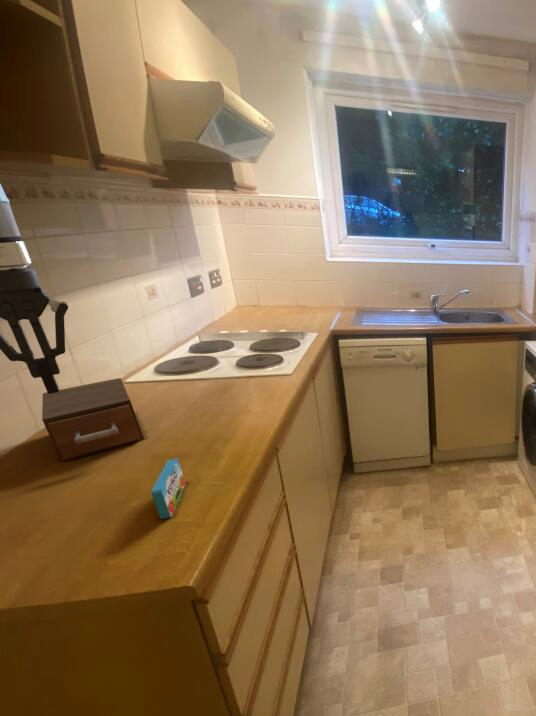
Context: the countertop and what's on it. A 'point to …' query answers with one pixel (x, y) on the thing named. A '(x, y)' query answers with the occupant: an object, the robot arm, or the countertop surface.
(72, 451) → the drawer
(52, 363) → the robot arm
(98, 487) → the countertop surface
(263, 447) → the countertop surface
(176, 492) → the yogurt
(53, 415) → the cabinet
